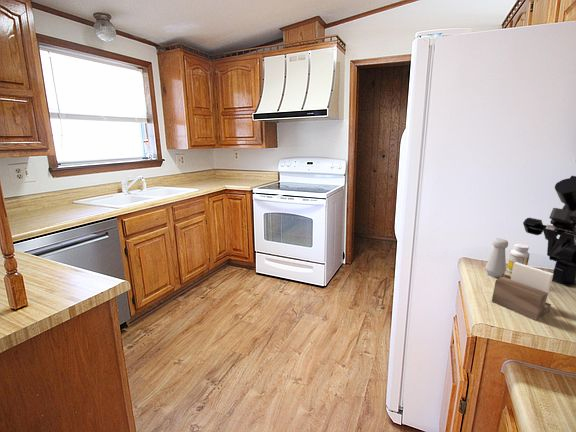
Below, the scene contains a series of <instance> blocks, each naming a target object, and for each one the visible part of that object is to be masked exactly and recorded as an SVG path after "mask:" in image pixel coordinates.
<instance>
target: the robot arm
mask: <svg viewBox="0 0 576 432" xmlns="http://www.w3.org/2000/svg"><path fill="white" fill-rule="evenodd" d="M554 190H555V192H556V194H557V196H558V198H559V200H560V202H561V203H563V204H564V205H563V206H562V208H558V207H557V208H556V207H553V208H552V211H551V213H550V215H549V218H548V219H550V224H543V221H542V219H538V218H532V217H527V218H525V219H524V221H523V222H522V223H523V227H524V230H525V233H527V234H531V235H534V236H540V235H542V234H543V236H544V239H545V240H547V250H546V251H547V253H546V255H547V257H548V258H549V260H550V261H554V262H555V264H554V268H553V272H552V273H553V278H552V281H554V282H557V283H558V284H561V285H563V286H566V287H570V286H575V285H576V175H571V176H570V177H569V178H565V179H562V180H560V181H557V182H556V183H555V185H554ZM557 237H558V238H557Z"/></svg>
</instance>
